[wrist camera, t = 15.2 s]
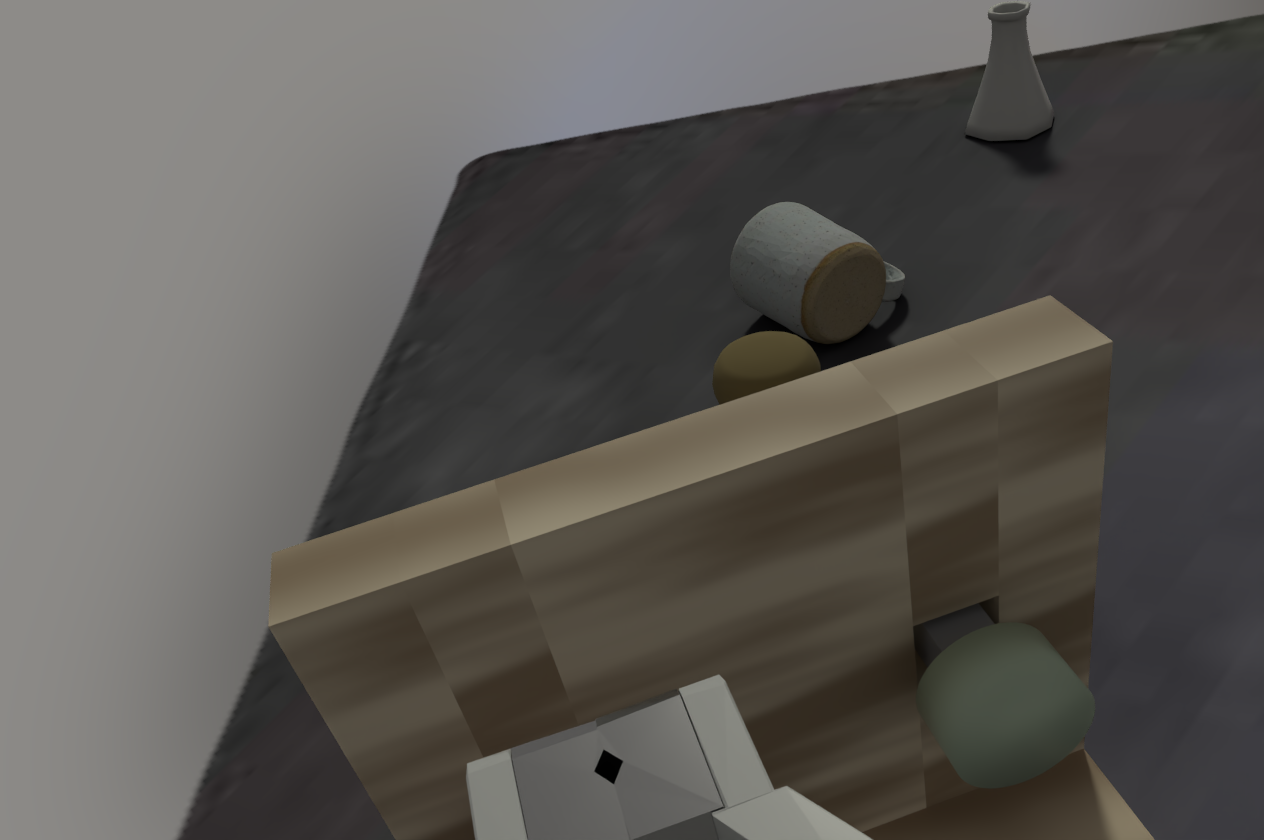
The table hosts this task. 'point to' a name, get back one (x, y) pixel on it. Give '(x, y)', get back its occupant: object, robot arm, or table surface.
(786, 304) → the ceramic mug
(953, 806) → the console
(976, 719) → the button sage
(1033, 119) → the flask
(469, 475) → the table surface
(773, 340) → the cork
